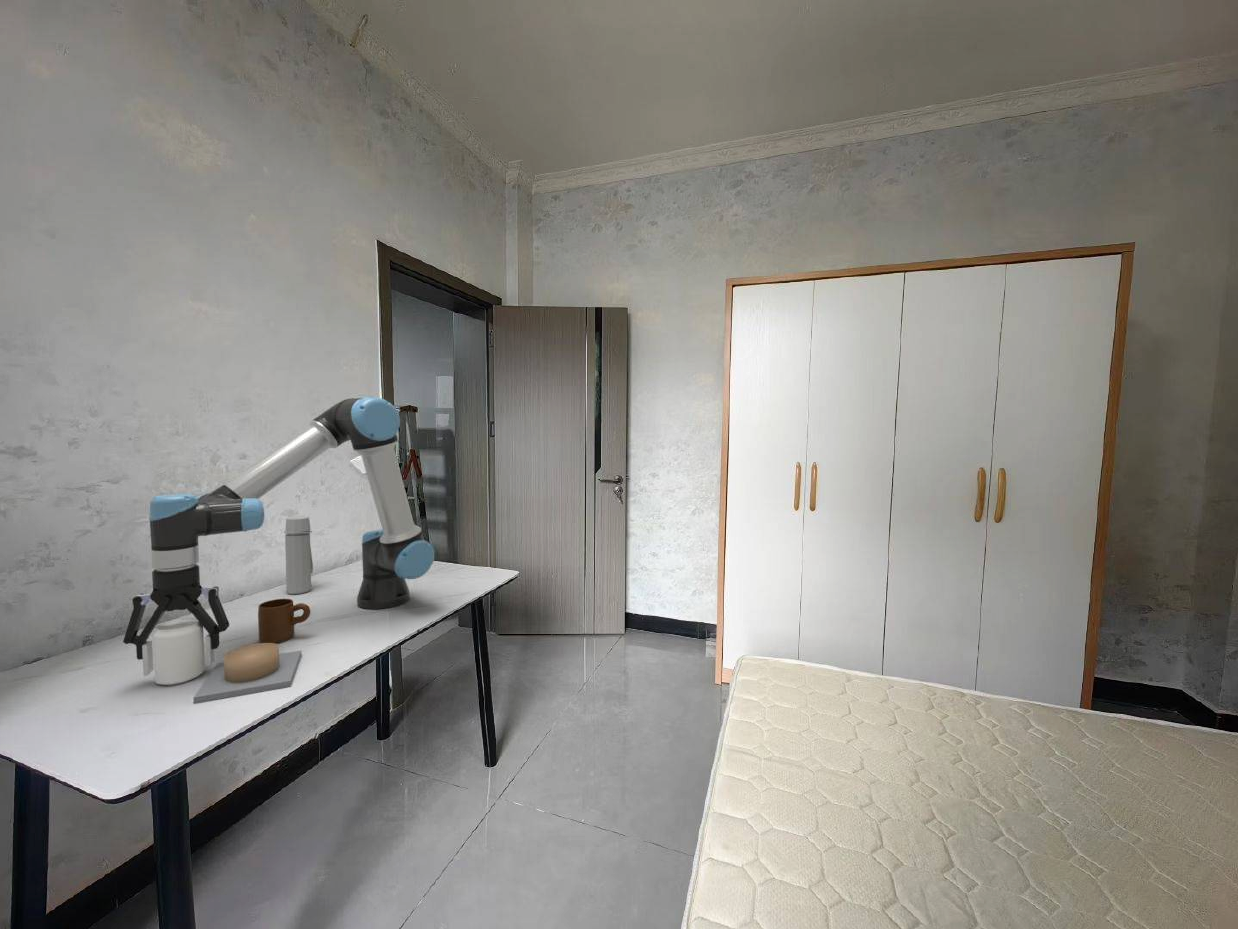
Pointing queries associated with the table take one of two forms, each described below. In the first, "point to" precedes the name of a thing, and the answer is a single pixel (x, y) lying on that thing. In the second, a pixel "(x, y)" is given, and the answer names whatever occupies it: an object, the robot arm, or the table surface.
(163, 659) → the beverage can
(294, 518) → the water bottle
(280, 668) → the pedestal
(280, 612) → the mug
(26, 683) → the table surface
